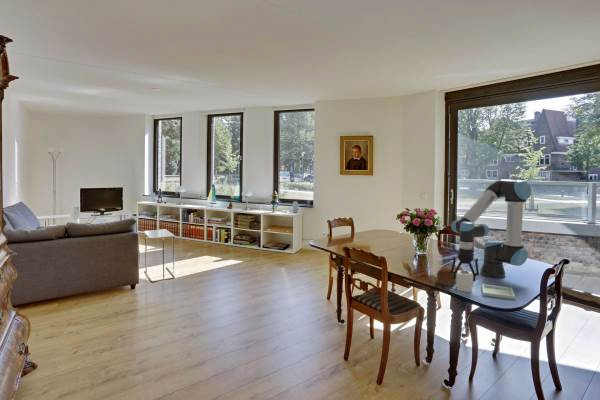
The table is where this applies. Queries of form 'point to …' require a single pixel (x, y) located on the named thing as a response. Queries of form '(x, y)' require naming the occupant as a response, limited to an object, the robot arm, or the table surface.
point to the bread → (447, 275)
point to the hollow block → (464, 281)
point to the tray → (498, 291)
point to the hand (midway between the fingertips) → (464, 285)
